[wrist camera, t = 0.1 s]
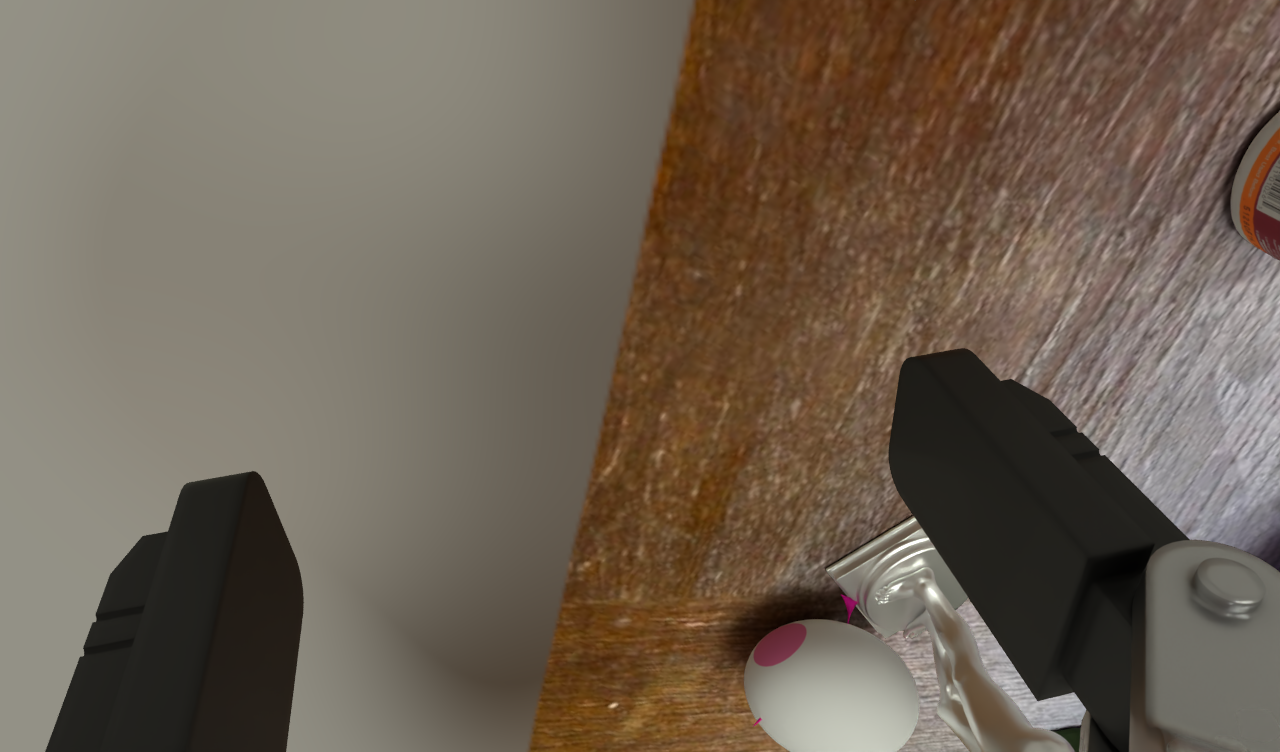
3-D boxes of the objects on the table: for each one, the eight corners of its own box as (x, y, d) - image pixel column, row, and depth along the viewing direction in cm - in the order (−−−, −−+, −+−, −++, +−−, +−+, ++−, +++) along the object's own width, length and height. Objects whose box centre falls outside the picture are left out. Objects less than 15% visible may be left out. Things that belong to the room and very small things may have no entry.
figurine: (795, 535, 35) (1066, 1079, 20) (952, 458, 34) (1345, 963, 20) (851, 641, 40) (1102, 1140, 25) (990, 576, 39) (1326, 1048, 25)
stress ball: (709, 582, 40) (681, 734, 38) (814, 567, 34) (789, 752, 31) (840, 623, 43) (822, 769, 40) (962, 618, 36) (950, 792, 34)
